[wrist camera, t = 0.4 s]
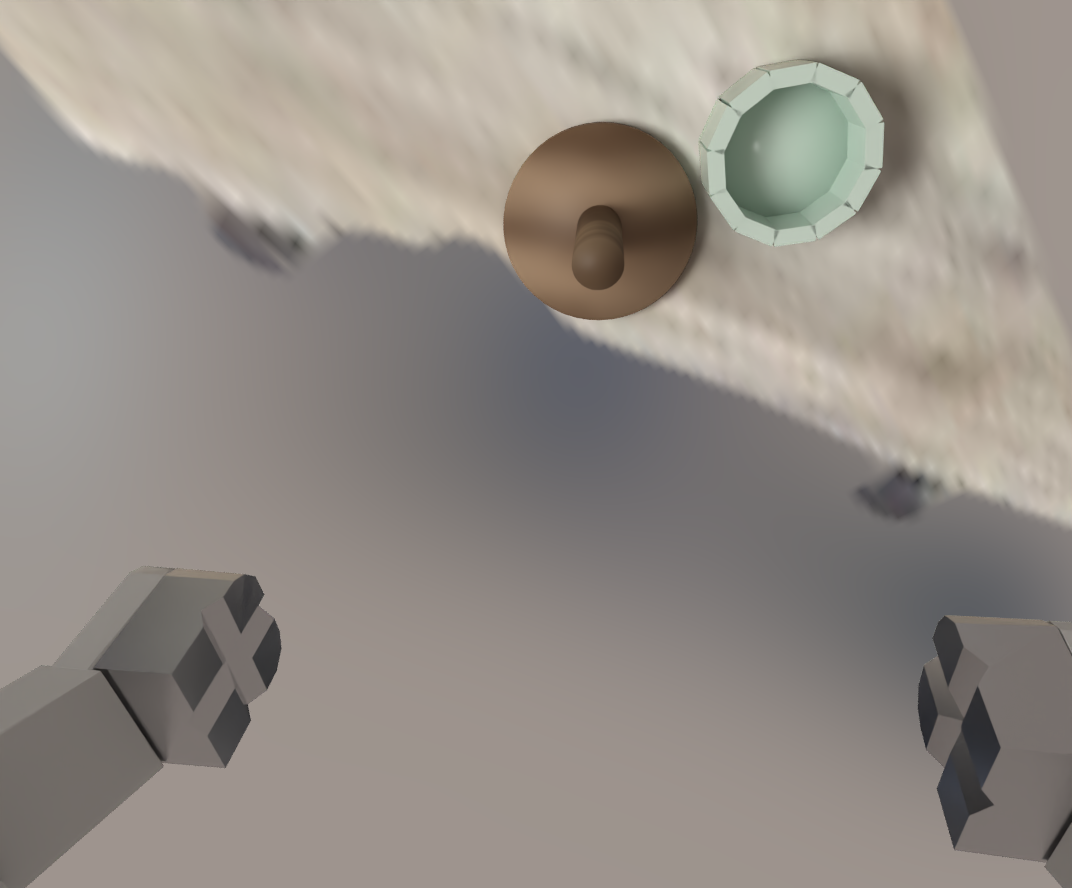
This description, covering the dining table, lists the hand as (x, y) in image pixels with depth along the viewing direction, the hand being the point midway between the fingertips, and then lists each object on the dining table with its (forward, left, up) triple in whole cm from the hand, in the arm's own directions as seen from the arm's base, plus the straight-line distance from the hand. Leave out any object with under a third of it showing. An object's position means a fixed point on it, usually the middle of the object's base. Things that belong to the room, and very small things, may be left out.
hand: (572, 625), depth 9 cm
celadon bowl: (+2, +11, -46) cm, 47 cm away
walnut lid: (+5, -1, -46) cm, 46 cm away
